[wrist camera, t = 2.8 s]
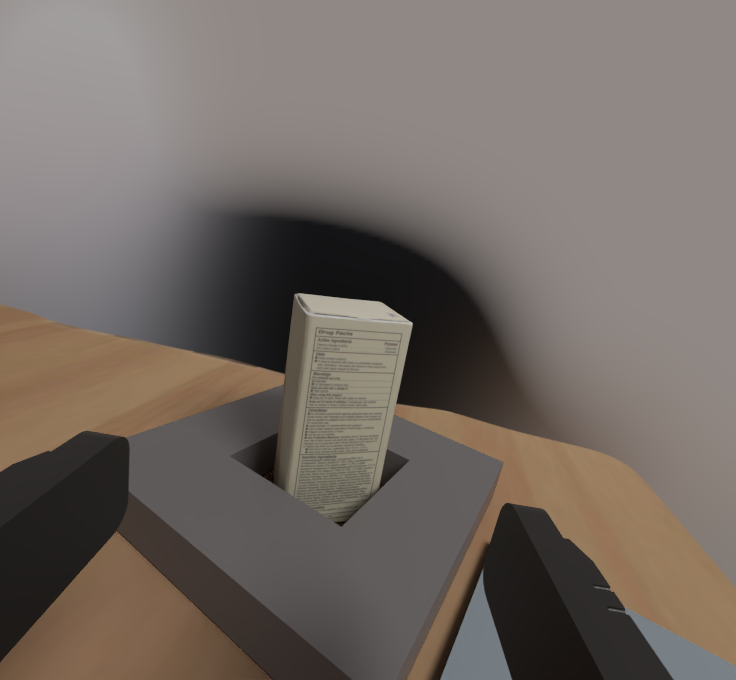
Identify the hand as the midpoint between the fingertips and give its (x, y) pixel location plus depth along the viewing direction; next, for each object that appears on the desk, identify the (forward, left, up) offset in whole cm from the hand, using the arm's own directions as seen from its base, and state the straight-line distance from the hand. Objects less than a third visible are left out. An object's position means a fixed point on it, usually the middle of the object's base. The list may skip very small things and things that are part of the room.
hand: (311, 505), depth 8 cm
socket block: (-6, +10, -9) cm, 14 cm away
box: (-6, +10, -9) cm, 14 cm away
